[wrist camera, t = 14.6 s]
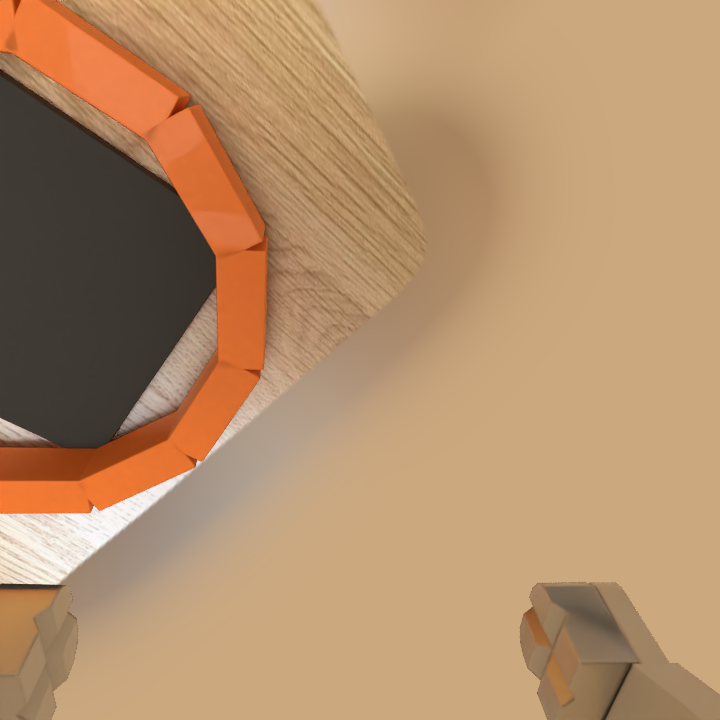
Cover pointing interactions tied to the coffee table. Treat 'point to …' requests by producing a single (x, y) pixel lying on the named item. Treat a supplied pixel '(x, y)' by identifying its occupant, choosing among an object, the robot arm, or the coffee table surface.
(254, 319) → the hoop
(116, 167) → the mat
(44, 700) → the robot arm
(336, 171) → the coffee table surface
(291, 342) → the coffee table surface
